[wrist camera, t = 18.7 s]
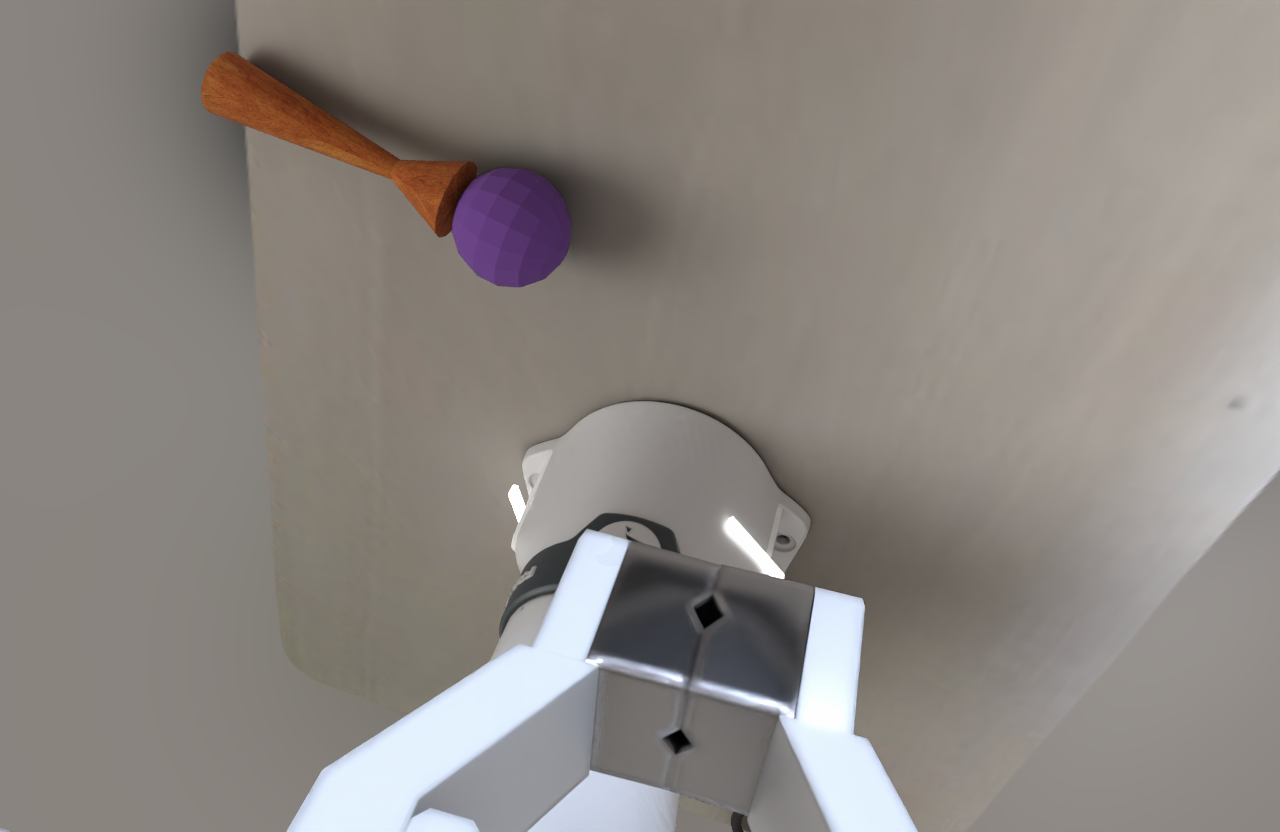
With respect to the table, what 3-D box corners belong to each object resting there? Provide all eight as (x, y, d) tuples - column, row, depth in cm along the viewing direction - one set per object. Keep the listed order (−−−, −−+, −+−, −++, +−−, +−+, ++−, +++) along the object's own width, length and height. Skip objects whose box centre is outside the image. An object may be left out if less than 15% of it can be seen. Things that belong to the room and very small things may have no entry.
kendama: (192, 30, 45) (564, 215, 44) (267, 22, 50) (601, 188, 49) (176, 146, 48) (524, 322, 47) (248, 127, 53) (563, 285, 52)
